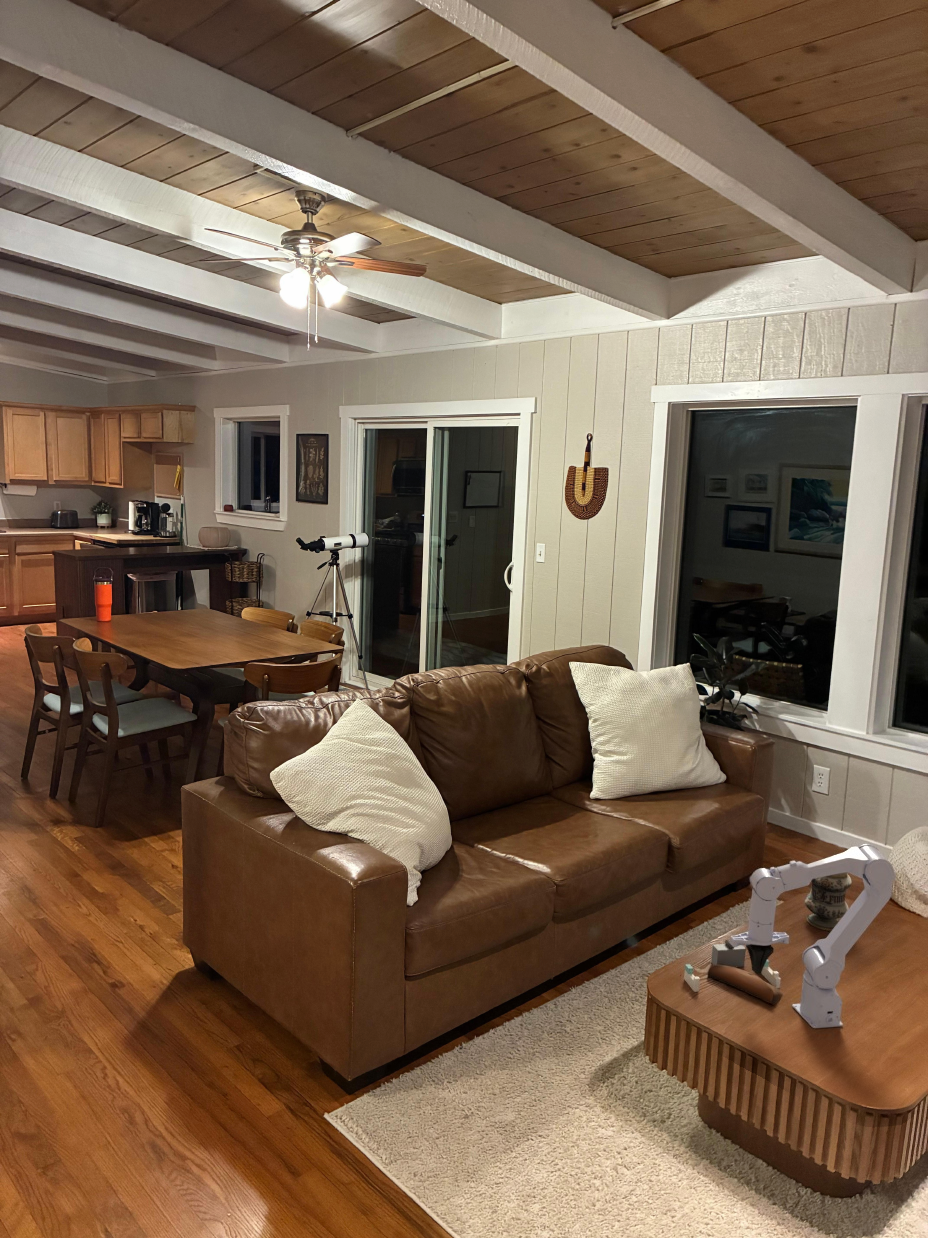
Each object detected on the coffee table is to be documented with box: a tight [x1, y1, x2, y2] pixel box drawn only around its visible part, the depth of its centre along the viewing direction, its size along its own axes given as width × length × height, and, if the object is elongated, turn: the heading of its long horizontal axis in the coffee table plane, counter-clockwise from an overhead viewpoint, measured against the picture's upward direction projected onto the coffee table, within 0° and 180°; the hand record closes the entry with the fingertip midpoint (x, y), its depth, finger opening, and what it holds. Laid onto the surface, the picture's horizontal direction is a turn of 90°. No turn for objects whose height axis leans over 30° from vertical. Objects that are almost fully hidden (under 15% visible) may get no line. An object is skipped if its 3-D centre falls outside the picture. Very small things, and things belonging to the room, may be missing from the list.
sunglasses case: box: [707, 964, 785, 1006], centre depth 232 cm, size 18×7×7 cm
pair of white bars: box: [683, 959, 782, 993], centre depth 235 cm, size 11×23×4 cm, turn 101°
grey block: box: [710, 939, 747, 968], centre depth 242 cm, size 3×8×6 cm, turn 101°
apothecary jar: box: [804, 872, 853, 932], centre depth 267 cm, size 12×12×18 cm
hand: (756, 971), depth 220 cm, fingers closed
